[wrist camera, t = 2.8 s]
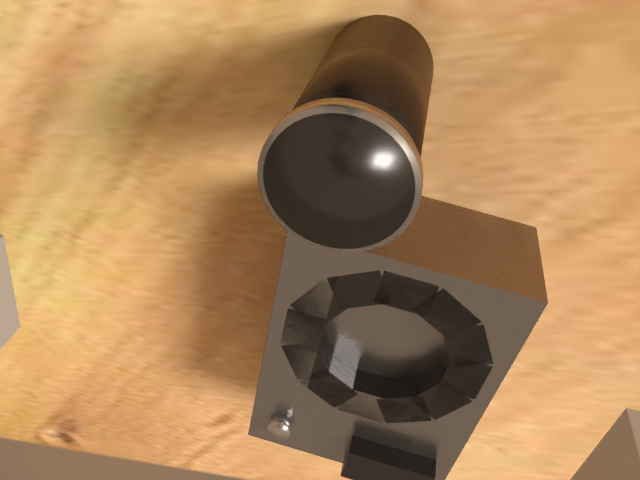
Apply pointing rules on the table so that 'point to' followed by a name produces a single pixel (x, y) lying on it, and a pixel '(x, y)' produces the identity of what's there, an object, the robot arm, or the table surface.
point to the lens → (353, 141)
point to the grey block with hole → (397, 342)
